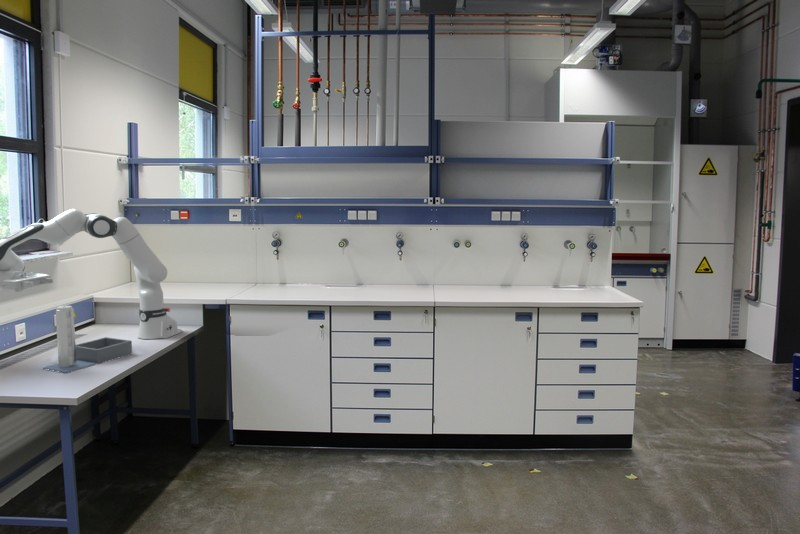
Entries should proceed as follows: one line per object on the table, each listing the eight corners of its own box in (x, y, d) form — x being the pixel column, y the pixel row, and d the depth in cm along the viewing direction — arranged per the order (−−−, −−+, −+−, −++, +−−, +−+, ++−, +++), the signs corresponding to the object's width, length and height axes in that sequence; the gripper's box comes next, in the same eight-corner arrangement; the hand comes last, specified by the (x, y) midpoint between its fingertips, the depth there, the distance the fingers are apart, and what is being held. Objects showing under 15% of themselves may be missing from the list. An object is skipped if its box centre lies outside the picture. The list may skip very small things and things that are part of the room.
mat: (72, 360, 257) (72, 359, 257) (96, 364, 252) (96, 363, 252) (42, 369, 245) (42, 367, 244) (66, 373, 239) (66, 371, 239)
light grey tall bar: (57, 368, 243) (54, 308, 240) (59, 364, 249) (56, 305, 246) (75, 366, 246) (72, 307, 243) (77, 363, 252) (74, 304, 249)
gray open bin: (106, 349, 275) (105, 337, 275) (132, 353, 269) (131, 340, 269) (71, 359, 259) (70, 346, 258) (98, 363, 253) (97, 350, 252)
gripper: (-6, 277, 246) (23, 278, 243) (33, 271, 266) (60, 272, 263) (-5, 292, 247) (24, 293, 244) (34, 285, 267) (61, 286, 264)
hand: (43, 282), depth 254 cm, fingers open, 8 cm apart
